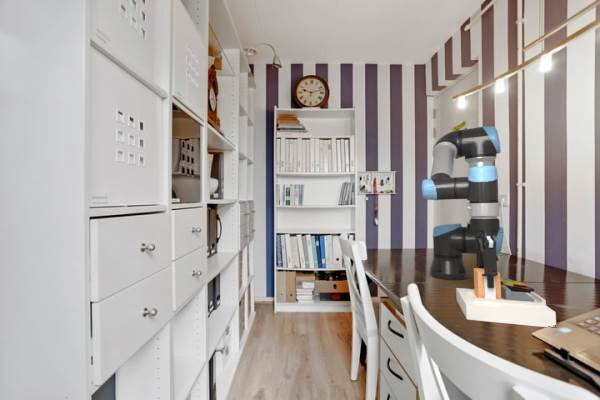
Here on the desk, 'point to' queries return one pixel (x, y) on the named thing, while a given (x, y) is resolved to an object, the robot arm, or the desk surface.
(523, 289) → the gadget
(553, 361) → the desk surface
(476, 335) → the desk surface
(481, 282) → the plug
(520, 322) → the socket
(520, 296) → the shutter
